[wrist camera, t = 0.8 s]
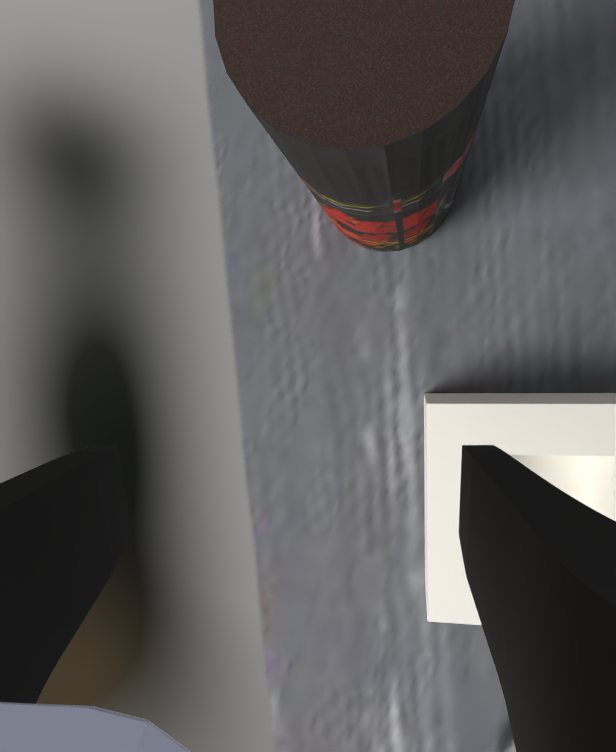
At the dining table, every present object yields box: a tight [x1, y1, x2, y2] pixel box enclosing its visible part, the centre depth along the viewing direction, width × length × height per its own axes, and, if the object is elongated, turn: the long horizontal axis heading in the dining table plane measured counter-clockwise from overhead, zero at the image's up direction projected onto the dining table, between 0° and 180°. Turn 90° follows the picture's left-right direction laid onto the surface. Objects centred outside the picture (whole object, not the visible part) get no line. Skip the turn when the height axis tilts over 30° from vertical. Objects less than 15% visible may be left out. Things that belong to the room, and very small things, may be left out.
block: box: [424, 393, 616, 625], centre depth 24 cm, size 9×9×4 cm
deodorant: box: [213, 0, 515, 252], centre depth 18 cm, size 6×6×15 cm
